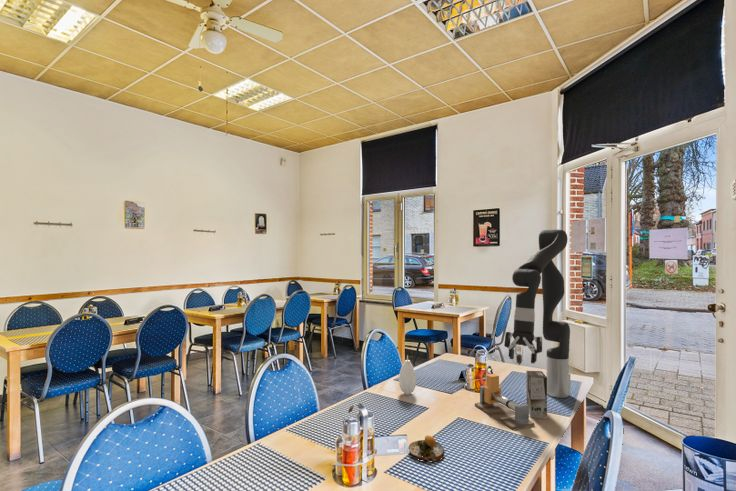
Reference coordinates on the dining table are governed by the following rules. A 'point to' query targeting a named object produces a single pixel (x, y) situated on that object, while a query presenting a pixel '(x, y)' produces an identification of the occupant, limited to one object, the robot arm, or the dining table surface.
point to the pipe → (509, 406)
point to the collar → (491, 388)
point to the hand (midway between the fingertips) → (522, 361)
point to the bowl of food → (427, 449)
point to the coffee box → (536, 393)
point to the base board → (502, 414)
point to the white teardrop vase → (407, 378)
